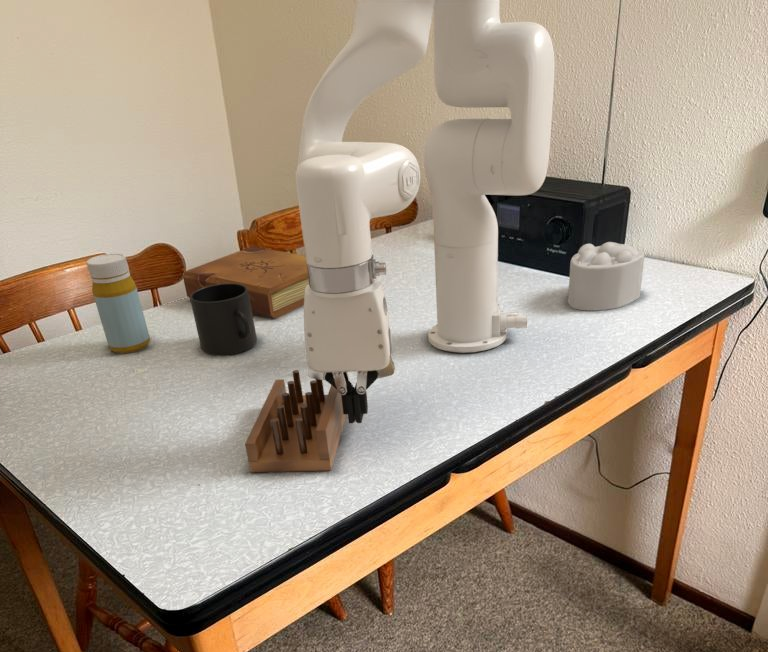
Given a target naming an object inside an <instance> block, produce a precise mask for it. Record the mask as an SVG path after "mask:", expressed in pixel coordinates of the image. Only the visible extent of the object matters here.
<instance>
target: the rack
mask: <svg viewBox="0 0 768 652" xmlns="http://www.w3.org/2000/svg"><path fill="white" fill-rule="evenodd" d="M291 374H292V378H293V380H290V381H288V382H287V383H286V382H285V379H284V378H283V379H282V378H281V379H275V380H274V382H273V384H272V386H271V389H270V391H269V393H268V395H267V397H266V399H265V401H264V403H263V405H262V407H261V409H260V411H259V414H258V416H257V418H256V419H255V422H254V424H253V426H252V428H251V429H250V432H249V434H248V436H247V438H246V440H245V443H244V447H245V452H246V456H247V462H248V465H249V469H250V473H269V472H270V473H271V472H272V473H275V472H276V473H278V472H318V471H322V472H323V471H332V468H333V466H334V461H335V458H336V454H337V450H338V447H339V444H340V440H341V436H342V432H343V429H344V426H345V422H346V418H347V416H348V414H343V406H342V398H341V395H340V394H339V393H338V391H337V389H336V388H334V387H333V386H332V385H331V384H330V387H329V389H328V393H327V394H325V390H324V383H323V380H318V379H313V380H311V381H309V386H310V391H307V392H305V393H304V394H303V388H302V381H301V376H300V370H298V369H294V370H292V373H291ZM286 384H287V388H286ZM287 389H288V392H287Z"/></svg>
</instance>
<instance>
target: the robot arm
mask: <svg viewBox="0 0 768 652" xmlns="http://www.w3.org/2000/svg"><path fill="white" fill-rule="evenodd" d="M500 3H501V2H500V0H357V2H356V8H355V15H354V22H353V29H352V31H351V32H352V33H351V35H350V38H349V40H348V41H347V42H346V44H345V46H343V47H342V49H341V50H340V51H339V52H338V54H336V56H335V57H334V59H333V60H332V61H331V63H330V64H329V65H328V66H327V69H326V70H325V71H324V73H323V75H322V76H321V78H320V79H319V81H318V83H317V84H316V86H315V87H314V89H313V91H312V93H311V95H310V98H309V99H308V102H307V105H306V107H305V110H304V114H303V120H302V126H301V133H300V140H299V147H298V155H297V157H298V158H297V167H296V170H295V177H294V179H295V187H296V188H295V189H296V196H297V202H298V210H299V218H300V225H301V233H302V241H303V248H304V255H305V256H306V264H307V271H308V279H309V285H307V286H306V288H305V294H304V305H303V328H304V329H303V331H304V345H305V346H304V347H305V355H306V361H307V365H308V372H307V376H308V377H309V378H310V379H313V380H315V379H318V380H322V381H326V383H328V384H329V385H330V386H331V385H332V386H333V387H334V388H336V389H337V391H338V393H339V394H340V395H341V398H342V406H343V414H347V418H348V424H354V423H357V424H362V422H363V418H364V415H367V414H368V411H369V406H368V395H367V390H368V389H369V388H370V387H371V386H372V385H373V384H374V383H375V382H376V380H377V379H383V378H388V377H390V376H393V375H394V374H395V371H396V366H395V364H394V360H393V358H392V353H393V342H392V340H393V339H392V332H391V324H390V317H389V308H388V303H387V299H386V294H385V291H384V287H383V285H382V281H381V280H379V279H377V277H380V276H381V275H382V276H384V275H387V263H386V262H380V261H376V258H374V254H373V250H372V248H373V247H372V237H371V223H370V221H371V220H372V219H376V218H382V217H387V216H393V215H396V214H399V213H400V212H403V211H404V210H406V209H407V208H408V207H409V206H410V205H411V204H412V203H413V201H414V200H415V198H416V197H417V194H418V192H419V189H420V185H421V168H420V164H419V162H418V160H417V158H416V156H415V154H414V153H413V152H412V151H411V150H410V149H409V148H407V147H405V146H403V145H401V144H399V143H394V142H381V141H380V142H379V141H378V142H376V141H375V142H374V141H373V142H369V141H368V142H366V141H343V139H344V135H345V131H346V128H347V125H348V123H349V121H350V120H351V117H352V116H353V115H354V113H355V112H356V110H357V109H358V108H359V106H360V105H361V104H362V103H363V102H364V101H365V100H367V99H368V98H369V97H370V96H371V95H373V94H374V93H375V92H377V91H379V90H380V89H381V88H383V87H385V86H387V85H388V84H389V83H391V82H392V81H394V80H396V79H398V78H399V77H400V76H402V75H404V74H406V73H407V72H409V71H410V70H412V69H414V68H415V67H416V66H418V64H420V63H421V62H422V61H423V59H424V57H425V56H426V54H427V51H428V45H429V40H430V32H431V26H432V19H433V71H434V73H433V74H434V85H435V92H436V94H437V96H438V98H439V100H441V102H442V103H443V104H444V105H446V106H450V107H453V108H454V107H455V108H468V109H469V108H470V109H473V108H477V109H479V108H480V109H481V108H508V109H509V113H510V118H457V119H451V120H450V119H449V120H447V121H444V122H441V123H439V124H437V125H436V126H434V127H433V129H432V130H430V131H429V133H428V135H427V136H426V139H425V142H424V145H423V166H424V172H425V176H426V180H427V185H428V189H429V190H428V191H429V195H430V202H431V210H432V211H431V212H432V223H433V247H434V248H433V249H434V273H435V275H434V276H435V297H436V299H435V300H436V320H437V321H436V322H437V323H436V324H435V325H434V326H432V327H431V328H430V329H429V330H428V333H427V336H428V338H427V339H428V342H429V344H430V345H431V346H433V347H434V348H436V349H438V350H442V351H445V352H451V353H459V354H460V353H464V354H465V353H467V354H469V353H478V352H483V351H488V350H491V349H494V348H496V347H499V346H500V345H501V344H504V342H505V341H506V340H507V339H508V329H527V327H528V316H527V315H519V311H510V312H504V310H500V303H499V302H498V300H499V299H498V296H499V295H498V290H499V289H498V287H499V286H498V283H499V279H498V278H499V276H498V275H499V271H498V270H499V225H498V219H497V216H496V213H495V210H494V208H493V206H492V205H491V203H490V202H489V199H488V198H487V196H486V195H490V196H515V197H517V196H518V197H519V196H529V195H532V194H534V193H536V192H538V191H539V189H540V188H541V187H542V186H543V185H544V182H545V180H546V177H547V173H548V169H549V162H550V151H551V139H552V138H551V137H552V136H551V135H552V122H553V121H552V120H553V107H554V90H555V73H556V72H555V68H556V67H555V65H556V64H555V49H554V45H553V41H552V37H551V35H550V33H549V31H548V30H547V29H546V27H544V26H543V25H542V24H540V23H537V22H535V21H511V22H502V21H501V17H500V15H501V14H500V5H501V4H500ZM350 372H351V373H353V372H356V383H355V385H354V384H352V382H351V381H350V377H349V373H350Z"/></svg>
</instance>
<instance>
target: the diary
mask: <svg viewBox="0 0 768 652" xmlns="http://www.w3.org/2000/svg"><path fill="white" fill-rule="evenodd" d="M182 279H183V283H184V289H185V293H186V297H187V298H189V299H190V295H191V294H192V293H193V292H195V291H196V290H199V289H201V288H204V287H207V286H211V285H217V284H226V283H233V284H241V285H244V286H246V287H247V288H248V292H249V298H250V303H251V309H252V314H253V315H257V316H262V317H266V318H270V319H274V320H276V319H278V318H279V317H282V316H284V315H286V314H288V313H290V312H292V311H294V310H296V309H298V308H301V307H304V294H305V288H306V286H307V285H309V279H308V271H307V264H306V256H305V254H301V253H300V254H299V253H293V252H287V251H282V250H281V251H280V250H275V249H269V248H262V247H257V246H249V247H247V248H243V249H241V250H239V251H235V252H233V253H230V254H228V255H227V254H226V255H225V256H222V257H219V258H216V259H214V260H211V261H209V262H206V263H203V264H201V265H198V266H196V267H193V268H190V269H187V270H184V273H183V276H182Z"/></svg>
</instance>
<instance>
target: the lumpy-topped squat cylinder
mask: <svg viewBox="0 0 768 652" xmlns="http://www.w3.org/2000/svg"><path fill="white" fill-rule="evenodd" d="M644 261H645V252H643V251H642V250H638V249H636V248H635V246H633V245H630V244H624V243H617V242H613V241H607V242H605V243H603V244H601V245H597V246H595V245H594V244H592V243H585V244H582V246H580V247H579V249H578V251H577V253H575V254H574V255H573V256H572V257H571V259H570V263H569V265H570V266H569V276H568V277H569V279H568V280H569V281H568V294H567V295H568V297H567V303H568V305H569V306H570V308H572V309H576V310H579V311H605V310H613V309H617V308H621V307H624V306H626V305H628V304H629V305H630V304H631V303H632V302H634V301H636V300H639V298H640V297H641V290H642V281H643V272H644Z"/></svg>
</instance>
